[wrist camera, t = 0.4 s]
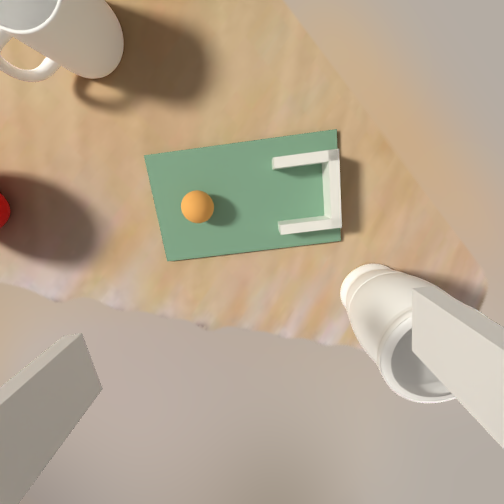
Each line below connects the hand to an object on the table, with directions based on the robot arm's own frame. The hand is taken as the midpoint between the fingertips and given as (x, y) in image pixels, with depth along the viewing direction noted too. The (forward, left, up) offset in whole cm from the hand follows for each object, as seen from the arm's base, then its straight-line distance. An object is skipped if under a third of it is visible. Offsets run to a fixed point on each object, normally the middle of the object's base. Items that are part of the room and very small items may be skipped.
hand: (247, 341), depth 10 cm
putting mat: (-4, 0, -26) cm, 26 cm away
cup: (-23, -17, -26) cm, 39 cm away
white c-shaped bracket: (-4, +7, -25) cm, 26 cm away
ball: (-4, -6, -23) cm, 24 cm away
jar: (+11, +16, -26) cm, 32 cm away
